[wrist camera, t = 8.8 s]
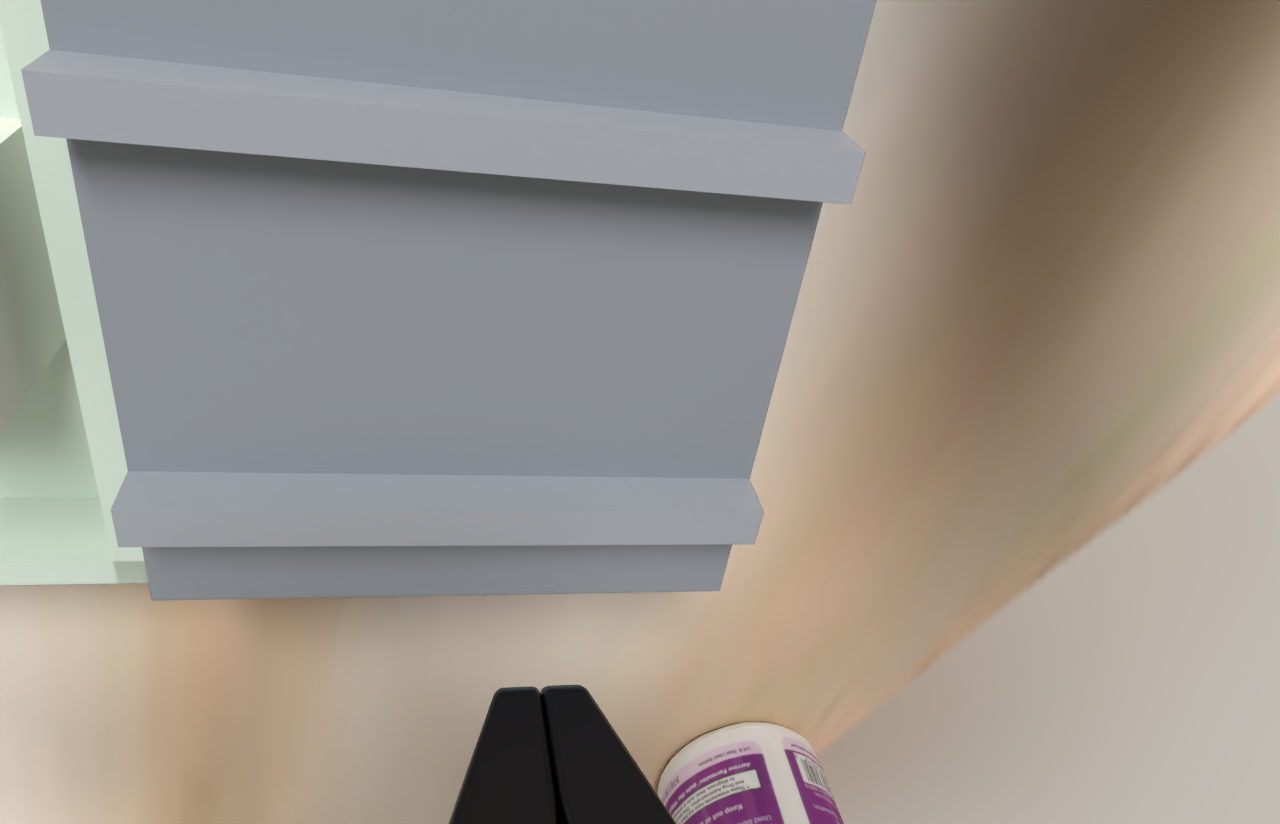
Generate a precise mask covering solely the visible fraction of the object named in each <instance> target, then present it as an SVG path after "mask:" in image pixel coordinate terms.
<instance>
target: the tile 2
mask: <svg viewBox="0 0 1280 824" xmlns="http://www.w3.org/2000/svg"><path fill="white" fill-rule="evenodd" d="M65 339H66V335H65V330H64V326H63V321H62V316H61V311H60V307H59V302H58V297H57V292H56V288H55V283H54V278H53V273H52V269H51V264H50V259H49V254H48V249H47V245H46V240H45V235H44V230H43V226H42V221H41V216H40V211H39V207H38V202H37V197H36V192H35V187H34V183H33V178H32V173H31V168H30V164H29V159H28V154H27V149H26V145H25V140H24V135H23V130H22V126H21V121H20V119H11V118H0V436H1V435H2V433H3V432H4V430H5V429H6V427H7V426H8V424H9V423H10V421H11V420H12V418H13V417H14V415H15V414H16V412H17V411H18V409H19V408H20V406H21V405H22V403H23V402H24V400H25V399H26V397H27V396H28V394H29V393H30V391H31V390H32V388H33V387H34V385H35V384H36V382H37V381H38V379H39V378H40V376H41V375H42V373H43V372H44V370H45V369H46V367H47V366H48V364H49V363H50V361H51V360H52V358H53V357H54V355H55V354H56V352H57V351H58V350H59V348H60V347H61V345H62V344H63V342H64V341H65Z"/></svg>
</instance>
